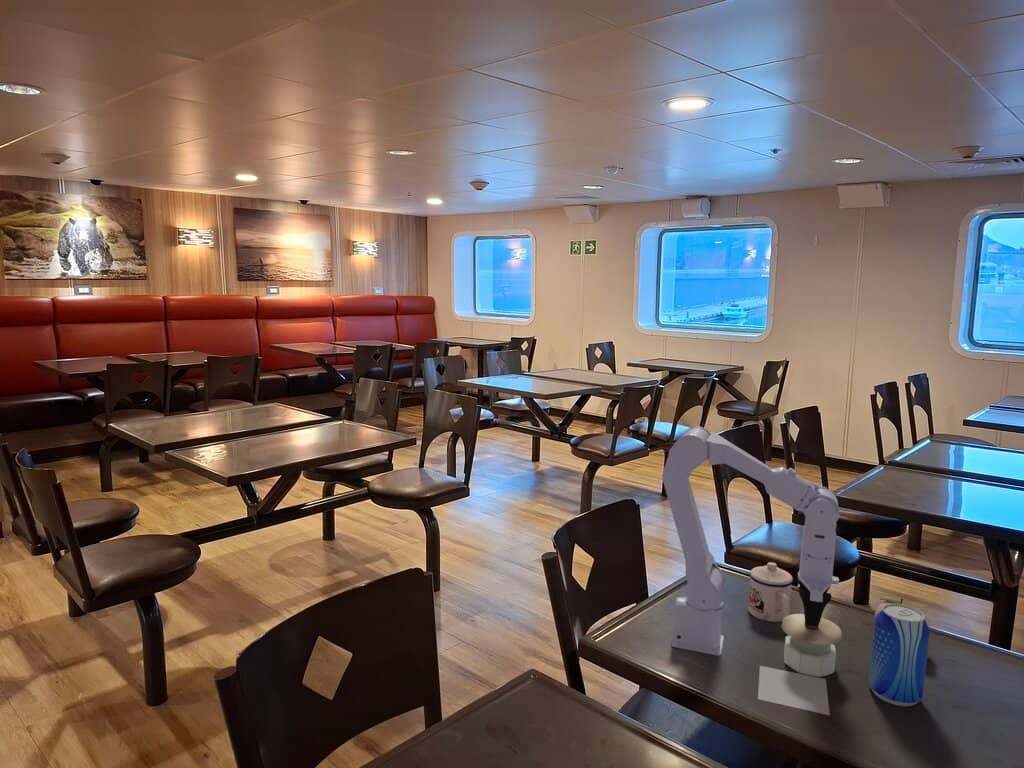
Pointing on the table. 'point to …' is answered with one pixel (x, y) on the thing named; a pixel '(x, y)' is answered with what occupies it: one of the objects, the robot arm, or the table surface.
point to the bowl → (809, 657)
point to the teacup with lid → (769, 592)
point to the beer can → (899, 655)
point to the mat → (793, 690)
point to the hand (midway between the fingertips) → (811, 621)
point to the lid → (811, 630)
